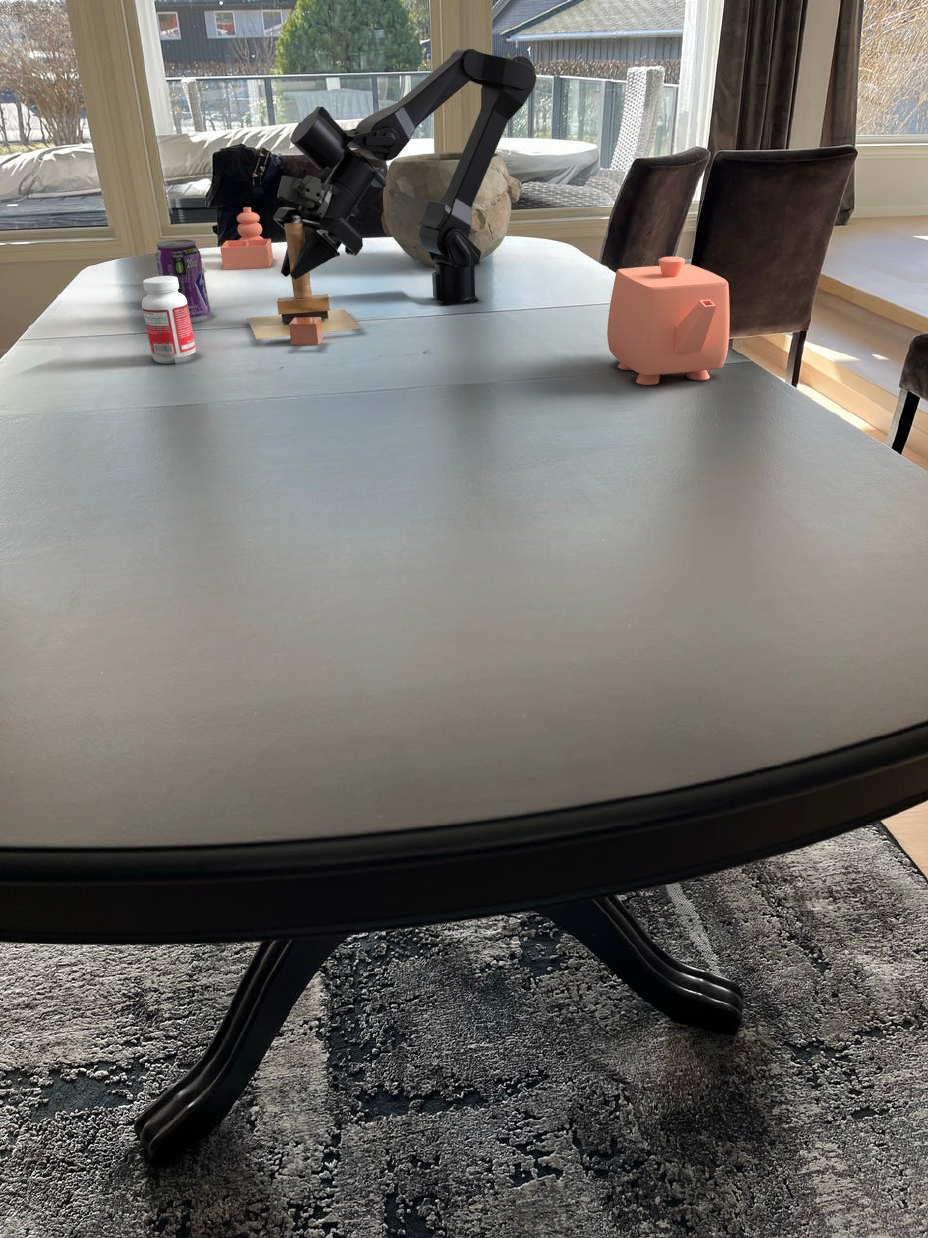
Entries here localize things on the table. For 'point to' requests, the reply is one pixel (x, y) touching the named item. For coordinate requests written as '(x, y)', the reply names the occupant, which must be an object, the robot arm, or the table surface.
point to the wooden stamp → (300, 284)
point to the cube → (306, 331)
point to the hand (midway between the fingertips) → (287, 276)
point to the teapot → (669, 320)
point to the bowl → (429, 180)
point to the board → (277, 328)
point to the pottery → (247, 245)
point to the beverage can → (185, 272)
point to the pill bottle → (167, 319)
